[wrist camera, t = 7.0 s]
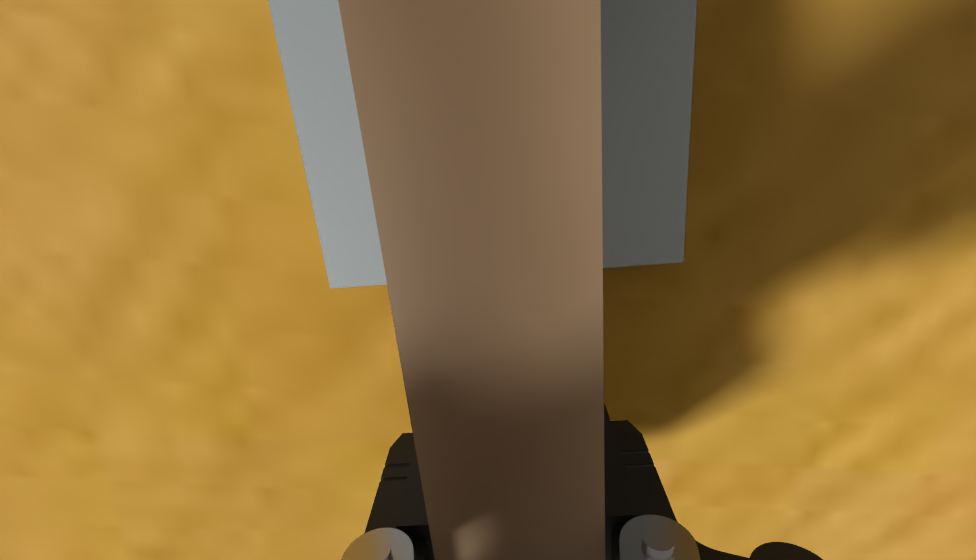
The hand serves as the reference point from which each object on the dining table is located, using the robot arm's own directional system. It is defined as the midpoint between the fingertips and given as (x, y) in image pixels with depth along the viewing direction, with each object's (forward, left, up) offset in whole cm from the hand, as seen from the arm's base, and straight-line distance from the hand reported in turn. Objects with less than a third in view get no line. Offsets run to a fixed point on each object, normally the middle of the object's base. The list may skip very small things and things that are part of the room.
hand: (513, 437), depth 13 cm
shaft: (0, -7, +1) cm, 7 cm away
